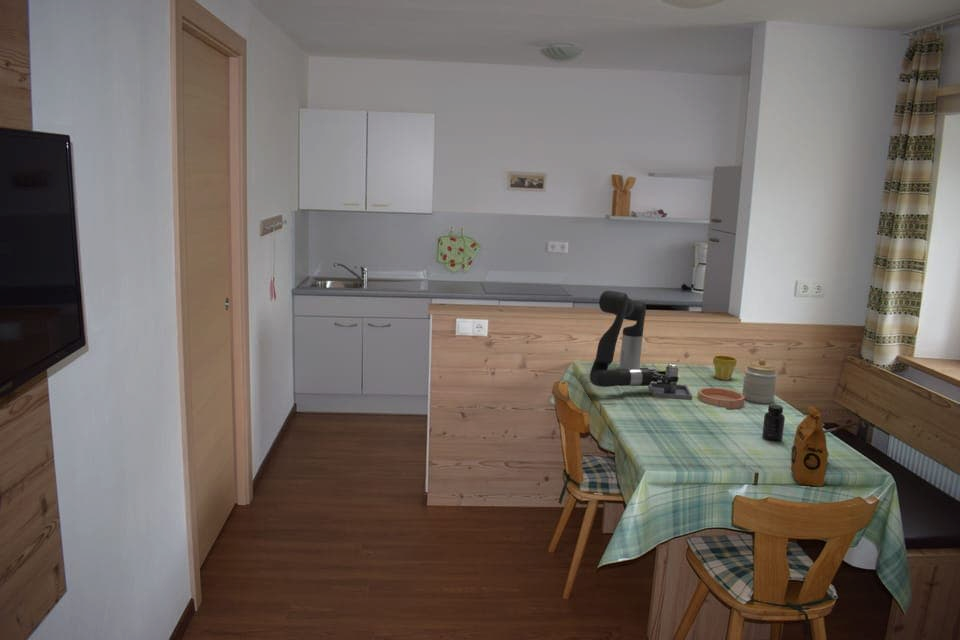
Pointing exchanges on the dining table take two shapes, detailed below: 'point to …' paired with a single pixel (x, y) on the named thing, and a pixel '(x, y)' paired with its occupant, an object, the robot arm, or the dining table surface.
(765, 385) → the jar
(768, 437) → the supplement bottle
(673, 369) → the silver gray cylinder
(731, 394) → the terracotta bowl
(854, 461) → the dining table surface
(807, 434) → the coffee package
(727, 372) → the plant pot
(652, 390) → the tray
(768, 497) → the dining table surface
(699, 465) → the dining table surface
